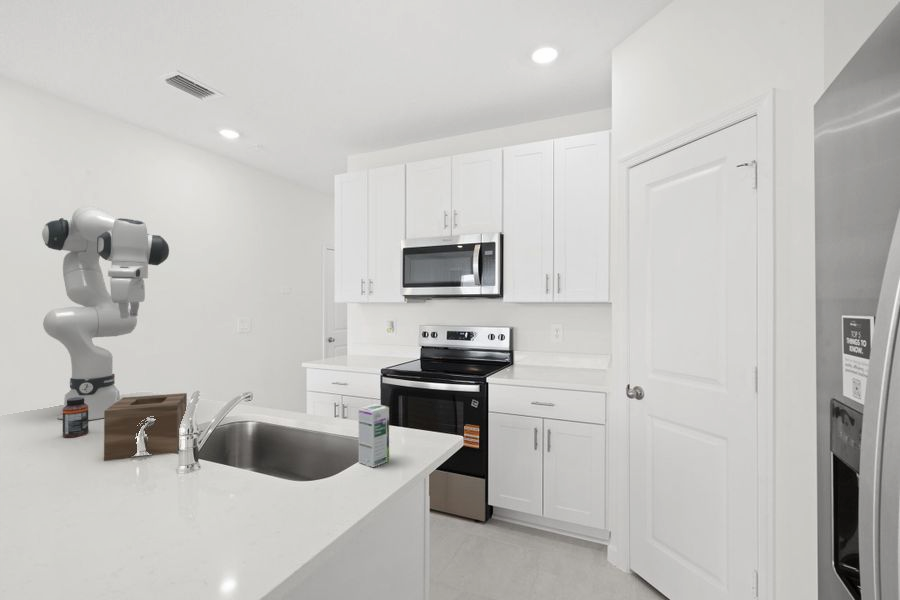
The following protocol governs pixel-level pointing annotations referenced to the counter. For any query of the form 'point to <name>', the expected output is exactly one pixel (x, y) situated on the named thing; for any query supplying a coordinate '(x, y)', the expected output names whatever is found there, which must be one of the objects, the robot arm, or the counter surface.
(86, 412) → the supplement bottle
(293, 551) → the counter surface
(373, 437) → the syrup box
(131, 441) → the box
